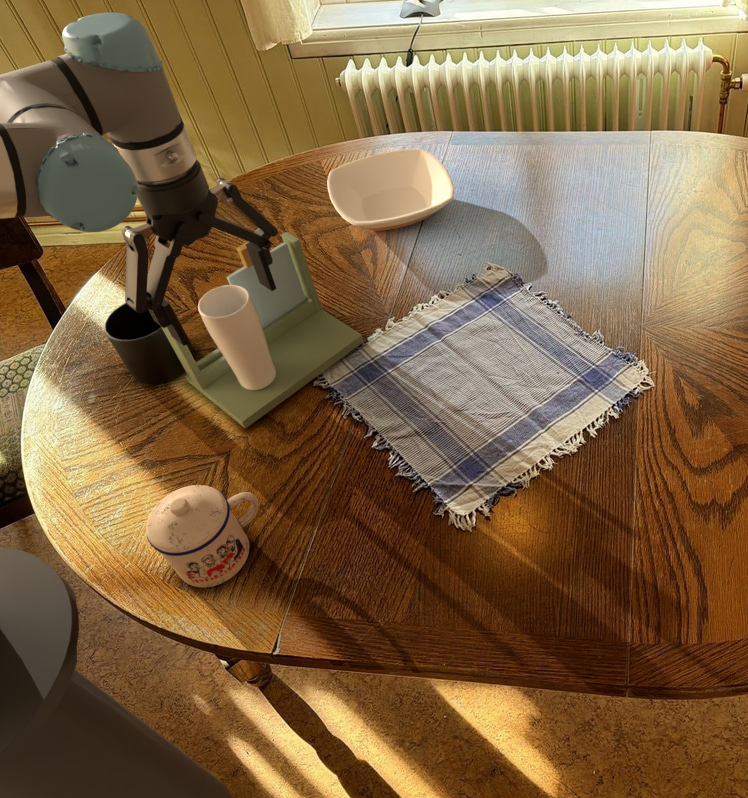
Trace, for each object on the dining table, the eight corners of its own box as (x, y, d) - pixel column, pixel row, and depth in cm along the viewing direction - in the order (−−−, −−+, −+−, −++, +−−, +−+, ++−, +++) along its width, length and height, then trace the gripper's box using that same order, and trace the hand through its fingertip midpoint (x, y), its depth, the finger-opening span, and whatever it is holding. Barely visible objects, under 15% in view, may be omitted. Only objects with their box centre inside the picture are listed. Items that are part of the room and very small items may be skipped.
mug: (166, 324, 119) (142, 280, 112) (207, 359, 113) (185, 315, 106) (111, 356, 114) (82, 313, 107) (151, 395, 109) (123, 351, 102)
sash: (258, 346, 113) (222, 262, 100) (253, 342, 113) (217, 258, 101) (310, 310, 117) (282, 226, 105) (306, 307, 118) (277, 223, 106)
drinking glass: (246, 359, 111) (211, 281, 100) (289, 364, 110) (258, 286, 99) (226, 393, 107) (187, 315, 95) (271, 398, 106) (236, 321, 94)
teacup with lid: (195, 605, 87) (154, 556, 78) (163, 554, 91) (121, 502, 83) (286, 544, 92) (258, 491, 83) (252, 498, 96) (221, 443, 88)
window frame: (245, 429, 104) (206, 354, 93) (188, 382, 110) (146, 306, 99) (363, 342, 115) (342, 265, 103) (306, 304, 121) (280, 227, 110)
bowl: (324, 192, 142) (317, 167, 138) (432, 165, 147) (429, 141, 143) (351, 257, 128) (344, 232, 124) (469, 226, 134) (466, 200, 130)
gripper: (72, 233, 74) (156, 378, 90) (276, 133, 87) (318, 276, 103) (37, 206, 78) (124, 351, 94) (238, 113, 90) (284, 255, 106)
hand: (225, 312), depth 98 cm, fingers open, 13 cm apart
